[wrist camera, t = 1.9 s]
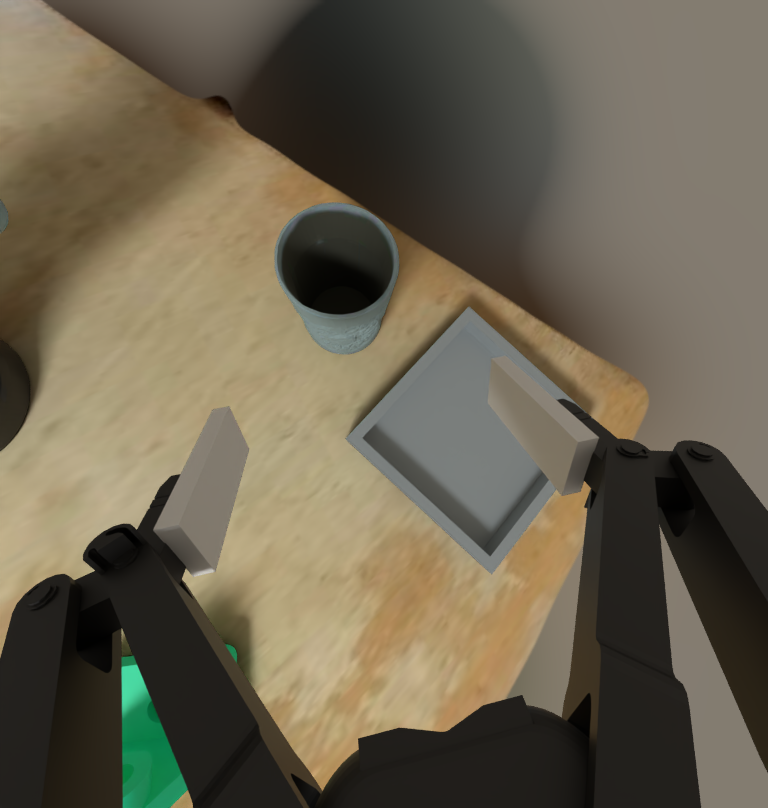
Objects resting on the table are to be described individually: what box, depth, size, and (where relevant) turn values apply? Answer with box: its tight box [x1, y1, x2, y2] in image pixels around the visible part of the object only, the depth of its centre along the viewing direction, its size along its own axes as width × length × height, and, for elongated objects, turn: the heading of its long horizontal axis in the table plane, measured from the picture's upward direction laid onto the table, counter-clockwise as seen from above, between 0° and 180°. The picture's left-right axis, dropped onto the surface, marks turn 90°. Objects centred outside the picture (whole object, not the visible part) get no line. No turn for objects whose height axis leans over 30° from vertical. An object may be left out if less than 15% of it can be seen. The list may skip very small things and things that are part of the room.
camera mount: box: [122, 644, 237, 808], centre depth 26 cm, size 12×8×10 cm, turn 94°
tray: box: [346, 307, 593, 574], centre depth 35 cm, size 20×20×3 cm
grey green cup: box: [275, 203, 399, 354], centre depth 32 cm, size 10×10×12 cm
